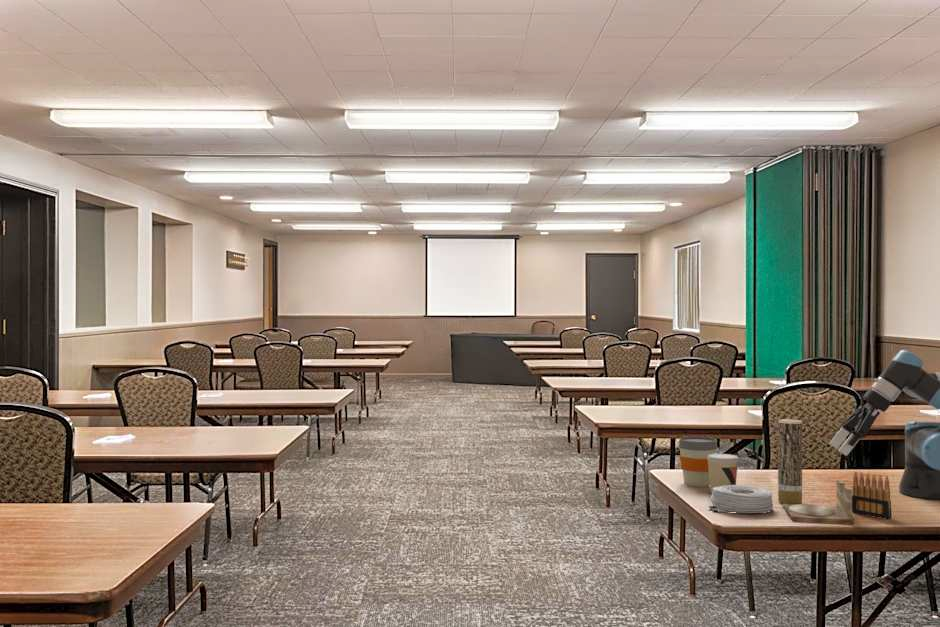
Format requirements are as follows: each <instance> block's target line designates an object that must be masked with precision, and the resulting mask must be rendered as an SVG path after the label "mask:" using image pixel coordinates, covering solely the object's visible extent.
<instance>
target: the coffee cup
mask: <svg viewBox="0 0 940 627" xmlns="http://www.w3.org/2000/svg"><path fill="white" fill-rule="evenodd" d="M707 459H708V470H709V485H710V486H709V492H710V494H711V493H712V492H713V491H712V490H713V488H714V487H720V486H728V485H737V475H738V461H739V459H738V456H737V455H734V454H729V453H715V454H710V455H708V457H707Z"/></svg>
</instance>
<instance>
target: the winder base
mask: <svg viewBox="0 0 940 627" xmlns="http://www.w3.org/2000/svg"><path fill="white" fill-rule="evenodd" d="M852 495H853V488H851V487H850V486H849V485H846V483H845V482H844V481H843V480H842V479H836V505H823V504H821V505H818V504H809V503H801V504H783V503H782V508H783V510H784V509H785V510H784V511H785V513H786V515H787V516H788V517H790V518H789V519H790V521H791V520H792V521H791V522H801V521H811V522H810V523H821V522H825V523H824V524H840V523H849V524H848V525H854V524H855V519H854V518H853V513H852Z"/></svg>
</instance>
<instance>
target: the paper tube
mask: <svg viewBox="0 0 940 627" xmlns="http://www.w3.org/2000/svg"><path fill="white" fill-rule="evenodd" d="M777 439H778V440H777V456H778V457H777V464H778V465H777V478H778V479H777V482H778V483H777V491H778V492H777V494H778V497H777V499H778V502H779V503H780V502H781V504H782V505H783V504H803V503H802V502H803V421H802V420H800V419H791V418H784V419H783V418H782V419H778V421H777Z"/></svg>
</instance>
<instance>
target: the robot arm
mask: <svg viewBox="0 0 940 627" xmlns="http://www.w3.org/2000/svg"><path fill="white" fill-rule="evenodd" d="M923 366H924V360H922V359H921V358H920V357H919V356H918V355H917V354H915V353H912V352H911V351H909V350H906V349H901V350H899V352H897V353H896V355H895V356H893V358H892V359H891V361H890V362H889V363H888V365H887V366H886V367H885V368H884V370H883V371H882V372H881V374H880V375H879V376H878V377H877V378H874V380H873V381H874V382H873V384H872V385H871V386H870V387H871V388H869V389H868V390H867V391H866V392H865V394H863V395H862V399H863V400H864V401H866V403H864V402H862V403H860V405H859V406H858V407H857V408H856V409H855V410H854V411H853V412H852V413H851V414H850V415H849V416H848V417H847V418H846V419H845V420H844V421H843V422H842V424H841V425H842V426H841V427H840V428H839V430H838V431H837V433H836V434H835V435H834V437H832V439H831V440H830V441H829V445H830V446H832V447H833V448H835V449H836V450H837V449H838V452H840V453H841V454H843V455H844V456H845V457H847V456H848V455H849V454H850V452H851V451H852V450H853V449H854V448H855V447H856V445H857V443H858V442H859V441H860V440H861V439H865V438H866V436H867V434H868V433H869V431H870V430H871V428H872V426H873V424H874V423H875V421H876V419H877V418H878V416H879V415H880V413H881V412H883V413H885V412H886V411H887V410H888V409H889V407H890V406H891V405H892V402H895V400H896V399H897V398H898V397H899V395H900V394H901V393H902V392H904V393H905V394H906V395H908V397H911V398H916V399H919V400H921V401H924V402H925V403H927V404H928V405H929V406H931V407H933V408H935V409H937V410H940V371H939V372H937V371H936V372H928V371H926V370H925V369H924V368H922V367H923ZM854 428H855V429H854ZM853 429H854V430H853ZM847 436H848V438H847ZM845 439H846V440H845ZM840 445H841V446H840ZM904 450H905V452H904V455H905V456H904V457H905V458H904V459H905V460H904V461H905V462H904V464H905V465H904V470H903V473H902V477H901V478H900V481H899V485H898V491H899V493H900V494H903V495H905V496H911V497H914V498H920V499H933V500H936V499H937V500H940V422H937V421H936V422H935V421H907V422H906V424H905V427H904Z"/></svg>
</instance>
